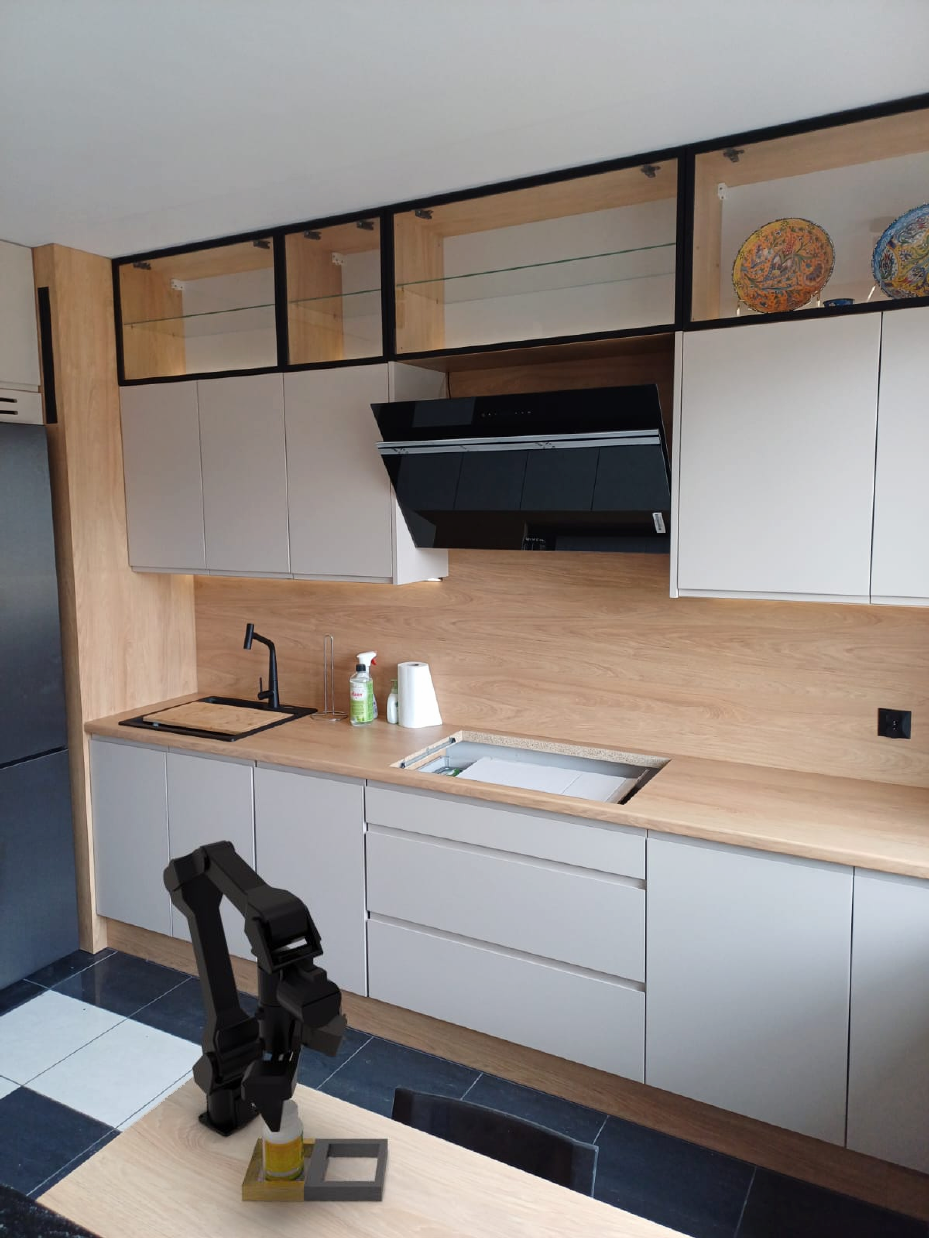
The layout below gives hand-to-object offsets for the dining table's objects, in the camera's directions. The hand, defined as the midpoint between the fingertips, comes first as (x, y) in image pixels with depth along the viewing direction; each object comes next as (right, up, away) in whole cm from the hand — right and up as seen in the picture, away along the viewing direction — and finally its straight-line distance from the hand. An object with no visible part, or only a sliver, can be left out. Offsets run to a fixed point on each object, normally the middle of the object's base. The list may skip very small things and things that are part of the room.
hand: (283, 1107), depth 116 cm
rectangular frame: (+4, -10, +1) cm, 11 cm away
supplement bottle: (0, -10, +1) cm, 10 cm away
